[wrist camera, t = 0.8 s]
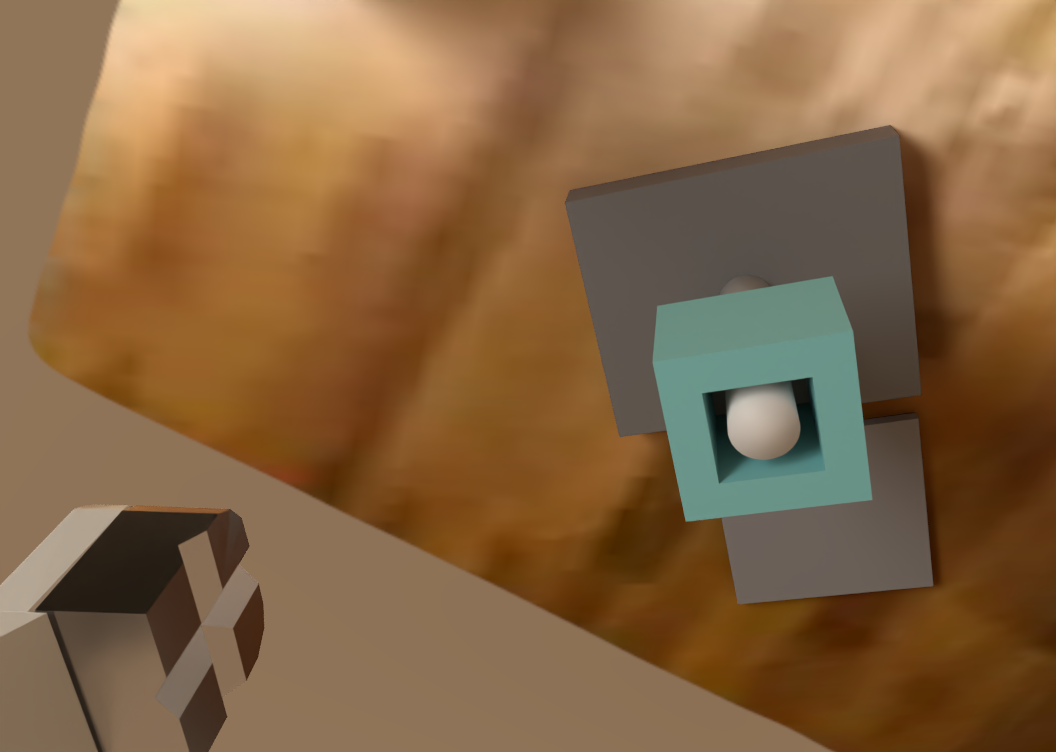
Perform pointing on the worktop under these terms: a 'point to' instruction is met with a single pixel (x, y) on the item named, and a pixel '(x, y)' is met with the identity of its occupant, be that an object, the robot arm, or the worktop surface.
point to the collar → (754, 359)
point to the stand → (751, 268)
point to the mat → (842, 531)
